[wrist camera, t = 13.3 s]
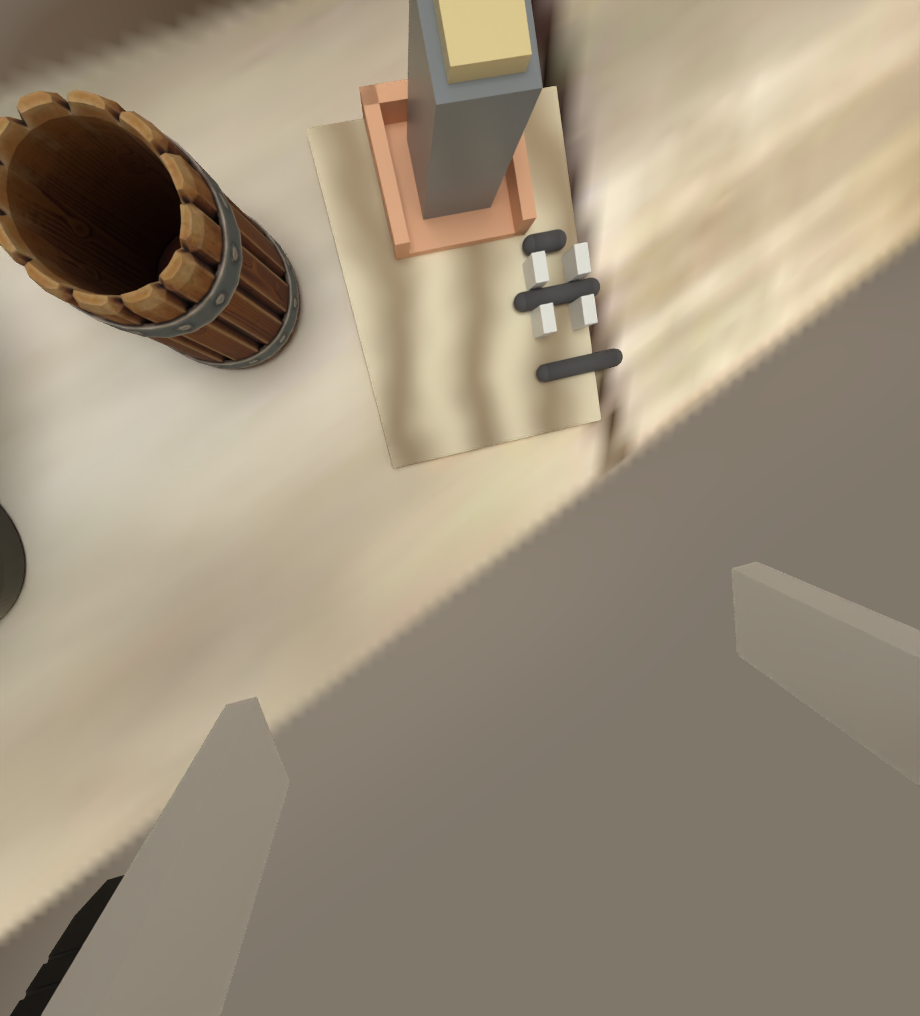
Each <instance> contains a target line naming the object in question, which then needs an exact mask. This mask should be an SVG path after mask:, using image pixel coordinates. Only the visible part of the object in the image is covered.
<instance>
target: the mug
mask: <svg viewBox="0 0 920 1016" xmlns="http://www.w3.org/2000/svg"><path fill="white" fill-rule="evenodd" d="M67 99H68V102H67V101H66V100H65V99H63V98H62V97H61V96H60V95H59V94H57V93H52V92H44V91H38V92H34V93H31V94H28V95H26V96H24V97H21V98H20V100H19V102H18V105H17V109H18V112H19V114H20V116H21V119H22V120H19V119H15V118H11V117H0V246H2V247H3V248H4V249H5V251H6V252H7V253H8V254H9V255H10V256H11V257H12V258H13V260H14V261H15V262H16V263H18V264H21V265H23V266H25V268H26V271H27V273H28V275H29V277H30V278H31V279H32V280H34V281H35V282H36V283H37V284H38V285H39V286H40V287H42V288H43V289H44V290H45V291H46V292H48V293H50V294H52V295H54V296H56V297H57V298H59V299H61V300H63V301H65V302H67V303H69V304H70V305H71V306H73V307H74V308H76V309H78V310H80V311H82V312H83V313H85V314H87V315H89V316H91V317H92V318H94V319H96V320H98V321H100V322H103V323H105V324H108V325H110V326H112V327H115V328H117V329H120V330H123V331H126V332H130V333H133V334H137V335H140V336H143V337H148V338H151V339H153V340H155V341H158V342H160V343H162V344H165V345H167V346H169V347H170V348H172V349H174V350H175V351H177V352H179V353H181V354H182V355H184V356H186V357H188V358H190V359H192V360H195V361H197V362H200V363H203V364H206V365H210V366H213V367H217V368H230V369H240V368H244V367H251V366H255V365H258V364H261V363H263V362H265V361H267V360H269V359H271V358H272V356H273V355H274V354H275V353H276V352H277V351H281V350H282V349H283V347H284V346H285V345H286V344H287V343H288V341H289V340H290V338H291V336H292V334H293V333H294V330H293V328H294V326H295V323H296V322H297V321H298V316H299V310H300V295H299V294H298V285H297V280H296V278H295V275H294V272H293V269H292V265H291V263H290V262H289V260H288V258H287V257H286V255H285V253H284V252H283V250H282V248H281V247H280V245H279V244H278V243H277V242H276V241H275V240H274V239H273V238H272V237H271V236H270V235H269V234H268V233H267V232H266V231H265V230H264V229H263V228H262V227H261V226H260V225H259V224H258V223H257V222H256V221H255V220H254V219H252V218H251V217H249V216H248V215H246V214H245V213H243V212H242V211H241V210H240V209H239V208H238V207H237V206H236V205H235V204H234V203H233V202H232V201H231V200H230V199H229V198H228V197H227V196H226V195H225V194H224V193H223V192H222V191H221V189H220V187H219V186H218V184H217V183H216V182H215V181H214V180H213V179H212V178H211V177H210V175H209V174H208V173H207V172H206V171H205V170H204V169H203V168H202V167H201V166H200V165H199V164H198V163H197V162H196V161H195V160H194V159H193V158H192V157H191V156H190V155H189V154H188V153H187V152H186V151H185V150H184V149H183V148H182V147H181V146H180V145H179V144H178V143H177V142H175V141H174V140H172V139H171V138H169V137H168V136H166V135H165V134H163V133H162V132H161V131H160V130H158V129H157V128H156V127H155V126H154V125H153V124H152V123H151V122H149V121H148V120H146V119H145V118H143V117H142V116H140V115H139V114H137V113H136V112H134V111H133V112H126V111H125V110H124V109H123V108H122V107H121V106H120V105H119V104H118V103H116V102H114V101H112V100H109V99H106V98H104V97H101V96H99V95H96V94H93V93H89V92H85V91H80V90H73V91H71V92H70V93H68V94H67Z"/></svg>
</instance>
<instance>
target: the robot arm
mask: <svg viewBox="0 0 920 1016" xmlns="http://www.w3.org/2000/svg"><path fill="white" fill-rule="evenodd" d="M23 577H24V556H23V550H22V546H21V543H20V540H19V537H18V535H17V532H16V530H15V528H14V526H13V524H12V523H11V521H10V519H9V518H8V516H7V515H6V513H5V512H4V511H3V509H2V508H1V507H0V619H1V618H2V617H3V616H4V615H5V614H6V613H7V612H8V611H9V609H10V608H11V607H12V605H13V604H14V602H15V601H16V599H17V597H18V595H19V592H20V590H21V586H22V583H23ZM732 582H733V598H734V613H735V627H736V643H737V654H738V655H739V656H740V657H742V658H743V659H744V660H746V661H747V662H749V663H750V664H752V665H753V666H754V667H756V668H757V669H758V670H760V671H761V672H762V673H764V674H765V675H766V676H768V677H769V678H771V679H772V680H773V681H775V682H776V683H777V684H779V685H780V686H782V687H783V688H784V689H786V690H787V691H789V692H790V693H791V694H793V695H794V696H795V697H797V698H798V699H800V700H801V701H802V702H804V703H805V704H807V705H808V706H809V707H811V708H812V709H813V710H815V711H816V712H818V713H819V714H820V715H822V716H823V717H824V718H826V719H827V720H829V721H830V722H831V723H833V724H834V725H836V726H837V727H839V728H840V729H841V730H842V731H844V732H845V733H847V734H848V735H849V736H851V737H852V738H854V739H855V740H856V741H858V742H859V743H860V744H862V745H863V746H865V747H866V748H867V749H869V750H870V751H871V752H873V753H874V754H876V755H877V756H878V757H880V758H881V759H883V760H884V761H885V762H887V763H888V764H889V765H891V766H892V767H894V768H895V769H896V770H898V771H899V772H900V773H902V774H903V775H905V776H906V777H907V778H909V779H910V780H911V781H913V782H914V783H916V784H917V785H918V786H920V631H919V630H917V629H914V628H912V627H910V626H907V625H905V624H903V623H900V622H898V621H896V620H893V619H891V618H888V617H886V616H884V615H881V614H879V613H876V612H874V611H872V610H870V609H867V608H865V607H863V606H860V605H858V604H855V603H853V602H851V601H848V600H846V599H843V598H841V597H839V596H836V595H834V594H832V593H829V592H827V591H825V590H822V589H820V588H818V587H815V586H813V585H811V584H808V583H806V582H803V581H801V580H799V579H796V578H794V577H791V576H789V575H787V574H784V573H782V572H780V571H777V570H775V569H773V568H770V567H768V566H766V565H763V564H761V563H759V562H754V563H750V564H747V565H743V566H739V567H736V568H732ZM289 784H290V782H289V779H288V777H287V774H286V771H285V769H284V766H283V764H282V761H281V759H280V756H279V753H278V751H277V748H276V745H275V743H274V740H273V738H272V735H271V733H270V730H269V727H268V725H267V722H266V720H265V717H264V714H263V712H262V709H261V707H260V704H259V702H258V699H257V697H254V698H250V699H246V700H242V701H239V702H235V703H231V704H228V705H226V706H225V708H224V709H223V711H222V713H221V714H220V716H219V718H218V719H217V721H216V723H215V724H214V726H213V728H212V729H211V731H210V733H209V735H208V736H207V738H206V740H205V741H204V743H203V745H202V746H201V748H200V750H199V751H198V753H197V755H196V756H195V758H194V760H193V761H192V763H191V765H190V766H189V768H188V770H187V771H186V773H185V775H184V776H183V778H182V780H181V781H180V783H179V785H178V786H177V788H176V790H175V792H174V793H173V795H172V797H171V798H170V800H169V802H168V803H167V805H166V807H165V808H164V810H163V812H162V813H161V815H160V817H159V818H158V820H157V822H156V823H155V825H154V827H153V828H152V830H151V832H150V833H149V835H148V837H147V838H146V840H145V842H144V844H143V845H142V847H141V849H140V850H139V852H138V854H137V855H136V857H135V859H134V860H133V862H132V864H131V865H130V867H129V869H128V870H127V872H126V874H125V875H123V876H119V877H116V878H113V879H109V880H107V881H106V882H105V883H104V884H103V885H102V887H101V888H100V889H99V890H98V891H97V892H96V893H95V894H94V895H93V896H92V897H91V899H90V900H89V901H88V902H87V903H86V904H85V905H84V906H83V907H82V908H81V910H80V911H79V912H78V913H77V914H76V915H75V916H74V918H73V919H72V921H71V922H70V924H69V925H68V927H67V929H66V930H65V932H64V933H63V935H62V936H61V938H60V939H59V941H58V942H57V944H56V945H55V947H54V949H53V950H52V952H51V953H50V955H49V960H48V963H46V964H43V966H42V967H41V969H40V970H39V972H38V973H37V975H36V976H35V978H34V980H33V981H32V982H31V984H30V986H29V987H28V989H27V990H26V996H25V998H24V999H23V1000H20V1001H19V1003H18V1004H17V1006H16V1007H15V1009H14V1010H13V1012H12V1014H11V1015H10V1016H220V1015H221V1011H222V1008H223V1005H224V1001H225V998H226V995H227V991H228V988H229V985H230V981H231V978H232V974H233V971H234V968H235V964H236V961H237V958H238V955H239V951H240V948H241V945H242V941H243V938H244V934H245V931H246V928H247V925H248V921H249V918H250V915H251V911H252V908H253V905H254V901H255V898H256V895H257V891H258V888H259V885H260V881H261V878H262V874H263V871H264V868H265V864H266V861H267V858H268V855H269V851H270V848H271V844H272V841H273V838H274V834H275V831H276V828H277V824H278V821H279V818H280V814H281V811H282V808H283V804H284V801H285V798H286V794H287V791H288V788H289Z"/></svg>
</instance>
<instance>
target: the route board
mask: <svg viewBox="0 0 920 1016" xmlns="http://www.w3.org/2000/svg"><path fill="white" fill-rule="evenodd" d="M306 131H307V135H308V139H309V143H310V147H311V150H312V154H313V158H314V162H315V166H316V170H317V174H318V178H319V181H320V185H321V189H322V193H323V197H324V201H325V205H326V209H327V213H328V216H329V220H330V224H331V228H332V232H333V236H334V240H335V244H336V247H337V251H338V255H339V259H340V263H341V267H342V271H343V275H344V278H345V282H346V286H347V290H348V294H349V298H350V302H351V306H352V310H353V313H354V317H355V321H356V325H357V329H358V333H359V337H360V341H361V344H362V348H363V352H364V356H365V360H366V364H367V368H368V372H369V376H370V379H371V383H372V387H373V391H374V395H375V399H376V403H377V407H378V410H379V414H380V418H381V422H382V426H383V430H384V434H385V438H386V442H387V445H388V449H389V453H390V457H391V461H392V465H393V469H394V468H398V467H402V466H406V465H411V464H415V463H419V462H423V461H428V460H432V459H436V458H440V457H445V456H449V455H453V454H458V453H462V452H466V451H470V450H475V449H479V448H483V447H487V446H492V445H496V444H500V443H504V442H509V441H513V440H517V439H521V438H526V437H530V436H534V435H539V434H543V433H547V432H551V431H556V430H560V429H564V428H568V427H573V426H577V425H581V424H585V423H590V422H594V421H598V420H601V416H600V408H599V401H598V393H597V386H596V378H595V371H593V372H588V373H584V374H579V375H575V376H571V377H566V378H562V379H557V380H553V381H548V382H542V381H540V380H539V379H538V378H537V375H536V372H537V369H538V367H539V366H540V365H542V364H546V363H551V362H555V361H560V360H564V359H569V358H573V357H578V356H582V355H587V354H591V353H592V349H591V341H590V334H589V326H588V327H586V328H583V329H579V330H574V331H572V326H571V319H570V312H569V304H570V303H572V302H569V303H564V304H559V305H555V306H553V307H554V314H555V321H556V327H557V331H556V332H554V333H552V334H550V335H548V336H546V337H542V338H537V339H534V334H533V328H532V322H531V316H530V312H532V311H533V310H531V311H526V312H519V311H517V310H516V309H515V307H514V298H515V296H516V295H517V294H518V293H520V292H525V291H526V286H525V280H524V274H523V267H522V264H523V263H524V262H525V260H526V259H527V258H528V257H529V256H528V255H526V254H525V253H524V251H523V248H522V244H523V241H524V239H525V238H526V237H527V236H528V235H531V234H535V233H540V232H545V231H551V230H556V229H561V230H563V231H564V232H565V234H566V236H567V241H566V244H565V246H564V247H563V248H562V249H561V250H559V251H554V252H550V253H545V255H546V261H547V268H548V274H549V281H548V282H547V283H546V284H545V285H544V286H543V287H542V288H544V287H549V286H554V285H558V284H563V283H565V277H564V270H563V263H562V256H563V255H564V254H565V253H566V252H567V251H568V250H569V249H570V248H571V247H572V246H573V245H575V244H577V237H576V230H575V222H574V215H573V207H572V200H571V192H570V185H569V177H568V170H567V163H566V155H565V148H564V140H563V133H562V125H561V118H560V110H559V103H558V96H557V88H556V86H553V87H547V88H542V90H541V93H540V95H539V97H538V100H537V102H536V104H535V107H534V109H533V111H532V113H531V116H530V118H529V120H528V123H527V125H526V127H525V129H524V136H525V143H526V149H527V156H528V163H529V169H530V176H531V182H532V189H533V195H534V202H535V208H536V215H537V218H536V219H535V221H534V222H533V224H532V225H531V227H530V228H529V230H528V231H527V232H526V234H525V235H521V236H515V237H510V238H505V239H500V240H495V241H490V242H485V243H480V244H475V245H470V246H465V247H459V248H454V249H449V250H444V251H439V252H434V253H429V254H424V255H419V256H414V257H408V258H403V259H398V260H396V258H395V254H394V250H393V245H392V241H391V237H390V232H389V228H388V224H387V219H386V215H385V210H384V206H383V202H382V197H381V193H380V189H379V184H378V180H377V175H376V171H375V167H374V162H373V158H372V154H371V149H370V145H369V140H368V136H367V132H366V127H365V123H364V119H358V120H352V121H346V122H341V123H335V124H329V125H323V126H317V127H311V128H306ZM581 280H582V279H581Z"/></svg>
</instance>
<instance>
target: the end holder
mask: <svg viewBox="0 0 920 1016" xmlns="http://www.w3.org/2000/svg"><path fill="white" fill-rule="evenodd" d="M359 88H360V96H361V103H362V111H363V119H364V123H365V127H366V132H367V136H368V140H369V145H370V149H371V154H372V158H373V162H374V167H375V171H376V175H377V180H378V184H379V189H380V193H381V197H382V202H383V206H384V210H385V215H386V219H387V224H388V228H389V232H390V237H391V241H392V245H393V250H394V254H395V258H396V260H398V259H403V258H408V257H414V256H419V255H424V254H429V253H434V252H439V251H444V250H449V249H454V248H459V247H465V246H470V245H475V244H480V243H485V242H490V241H495V240H500V239H505V238H510V237H515V236H521V235H525V234H526V232H527V231H528V230H529V228H530V227H531V225H532V224H533V222H534V221H535V219H536V218H537V215H536V208H535V202H534V195H533V189H532V182H531V176H530V169H529V163H528V156H527V149H526V143H525V136H524V132H523V134H522V136H521V139H520V141H519V143H518V146H517V148H516V150H515V152H514V155H513V157H512V159H511V162H510V164H509V166H508V168H507V171H506V173H505V175H504V178H503V180H502V182H501V185H500V187H499V189H498V191H497V194H496V196H495V198H494V201H493V203H492V205H491V207H490V208H486V209H480V210H475V211H469V212H464V213H458V214H453V215H447V216H442V217H436V218H431V219H425V220H423V217H422V212H421V207H420V202H419V197H418V192H417V187H416V182H415V177H414V172H413V167H412V163H411V158H410V153H409V148H408V143H407V100H408V79H406V80H400V81H393V82H387V83H381V84H375V85H369V86H363V87H359Z"/></svg>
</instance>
